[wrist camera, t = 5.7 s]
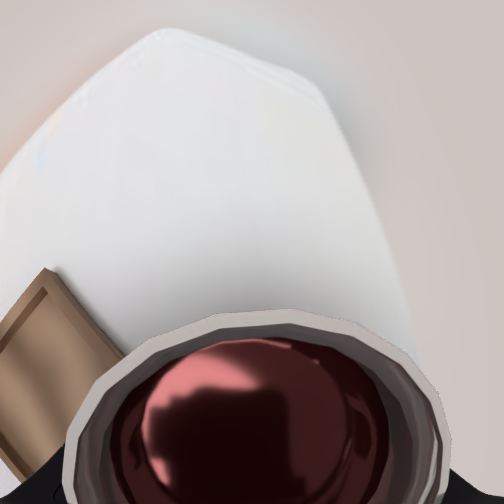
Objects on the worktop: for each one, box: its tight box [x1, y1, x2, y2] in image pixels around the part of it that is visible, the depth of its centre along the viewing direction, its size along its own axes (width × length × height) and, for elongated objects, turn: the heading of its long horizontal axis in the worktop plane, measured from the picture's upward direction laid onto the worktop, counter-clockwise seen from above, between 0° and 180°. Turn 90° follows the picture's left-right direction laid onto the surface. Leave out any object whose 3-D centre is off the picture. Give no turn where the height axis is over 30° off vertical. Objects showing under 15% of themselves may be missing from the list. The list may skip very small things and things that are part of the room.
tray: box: [0, 268, 126, 483], centre depth 18 cm, size 16×14×2 cm
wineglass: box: [62, 308, 452, 504], centre depth 9 cm, size 7×7×12 cm
